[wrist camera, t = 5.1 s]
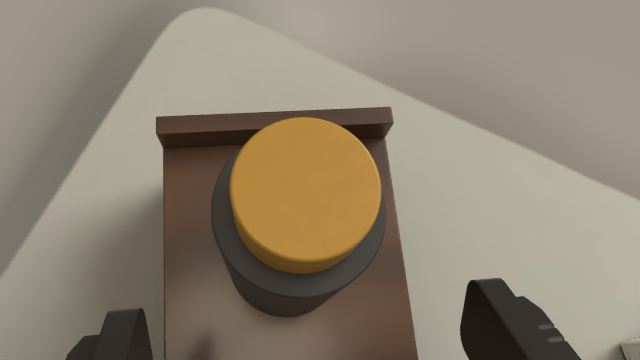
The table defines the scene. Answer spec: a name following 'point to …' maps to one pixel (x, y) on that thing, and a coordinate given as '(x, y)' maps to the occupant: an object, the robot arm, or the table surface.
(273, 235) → the spice bottle
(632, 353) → the white packaging box
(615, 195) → the table surface
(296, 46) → the table surface
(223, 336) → the spice shelf
